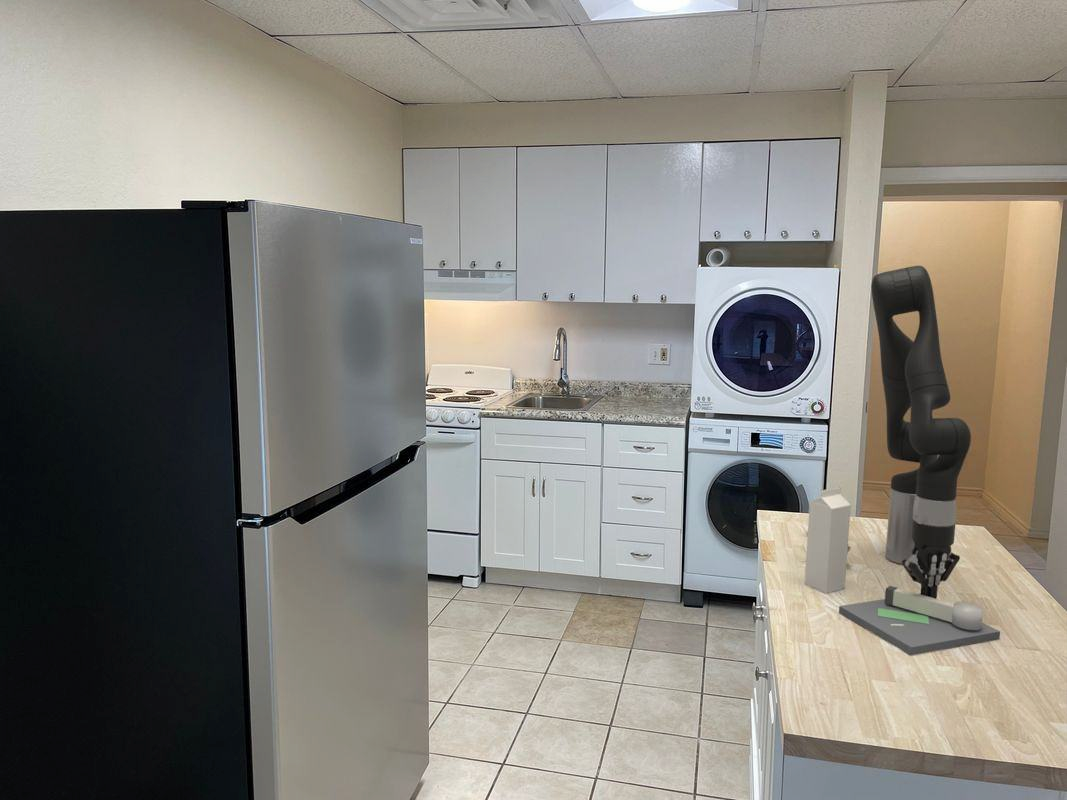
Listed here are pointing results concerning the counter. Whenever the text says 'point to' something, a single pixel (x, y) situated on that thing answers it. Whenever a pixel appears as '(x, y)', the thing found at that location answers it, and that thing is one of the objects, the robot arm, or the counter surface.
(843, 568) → the milk
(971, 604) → the tuning lever
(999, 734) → the counter surface
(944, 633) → the board
